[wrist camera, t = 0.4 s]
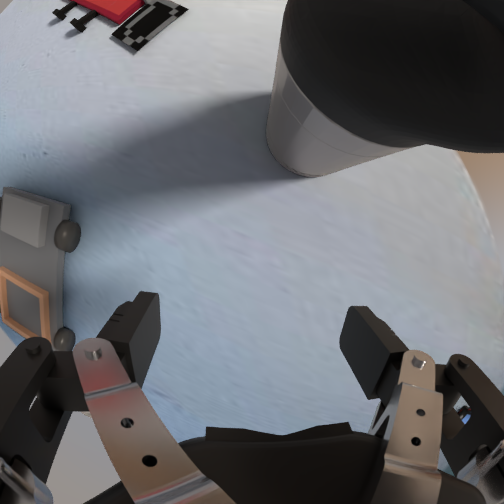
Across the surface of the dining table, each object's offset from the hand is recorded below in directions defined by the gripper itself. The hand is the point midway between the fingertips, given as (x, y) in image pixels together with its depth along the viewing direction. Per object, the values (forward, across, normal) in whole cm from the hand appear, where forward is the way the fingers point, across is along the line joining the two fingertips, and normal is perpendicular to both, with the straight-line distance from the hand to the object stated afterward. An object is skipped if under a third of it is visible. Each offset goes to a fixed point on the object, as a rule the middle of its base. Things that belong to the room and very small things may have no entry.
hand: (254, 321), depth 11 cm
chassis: (+20, +29, +8) cm, 36 cm away
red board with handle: (+24, +23, -34) cm, 48 cm away
